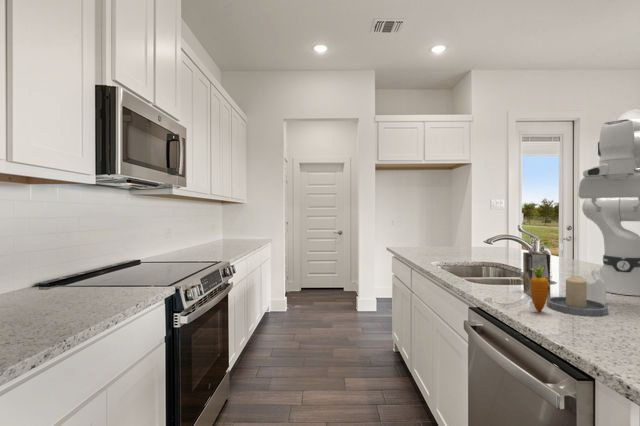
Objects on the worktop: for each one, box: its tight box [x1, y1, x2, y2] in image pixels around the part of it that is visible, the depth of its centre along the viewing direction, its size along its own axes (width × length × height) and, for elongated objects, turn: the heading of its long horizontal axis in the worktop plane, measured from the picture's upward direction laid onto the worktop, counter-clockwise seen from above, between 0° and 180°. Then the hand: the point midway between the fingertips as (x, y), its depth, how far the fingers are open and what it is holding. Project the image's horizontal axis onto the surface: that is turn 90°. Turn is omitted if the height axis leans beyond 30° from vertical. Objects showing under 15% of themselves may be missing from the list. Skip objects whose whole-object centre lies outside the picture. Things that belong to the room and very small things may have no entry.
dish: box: [546, 296, 609, 318], centre depth 114 cm, size 16×16×2 cm
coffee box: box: [522, 251, 551, 299], centre depth 133 cm, size 9×6×16 cm
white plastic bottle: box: [585, 268, 607, 305], centre depth 121 cm, size 6×12×6 cm
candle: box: [565, 275, 587, 309], centre depth 114 cm, size 6×6×10 cm
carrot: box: [530, 265, 548, 313], centre depth 110 cm, size 5×5×15 cm
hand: (616, 211), depth 113 cm, fingers open, 8 cm apart
